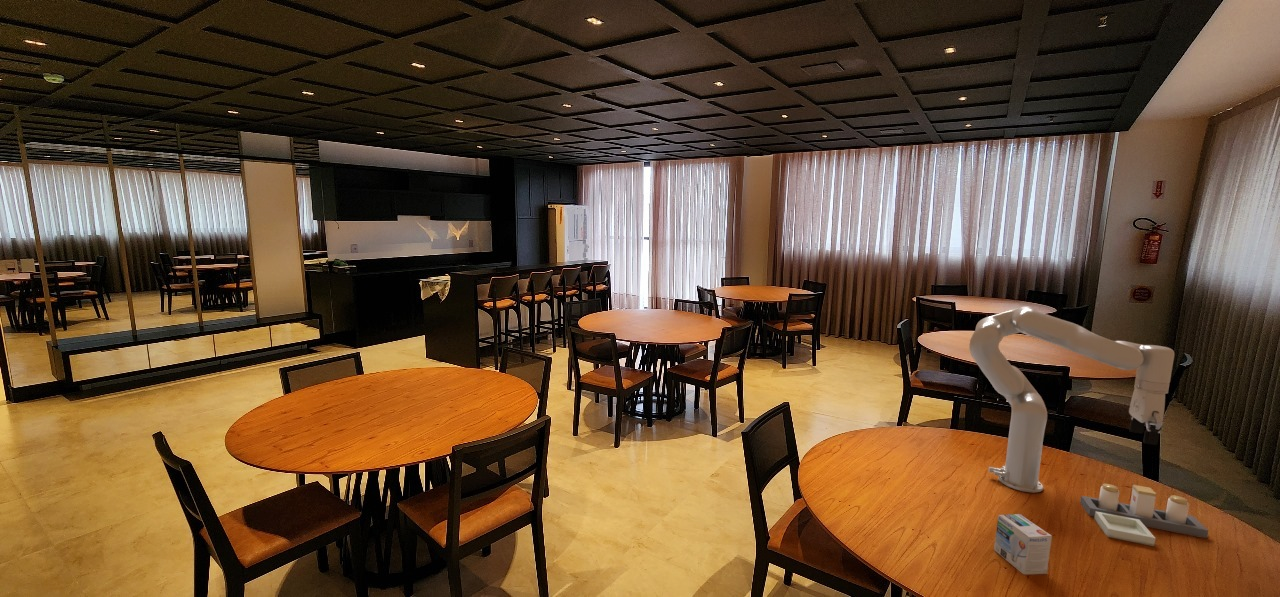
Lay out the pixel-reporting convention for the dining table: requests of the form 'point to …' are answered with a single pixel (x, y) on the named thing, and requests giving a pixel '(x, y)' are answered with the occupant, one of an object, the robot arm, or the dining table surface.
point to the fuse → (1142, 501)
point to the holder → (1156, 521)
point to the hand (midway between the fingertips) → (1142, 438)
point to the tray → (1124, 528)
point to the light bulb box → (1022, 544)
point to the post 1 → (1108, 497)
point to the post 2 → (1177, 509)
